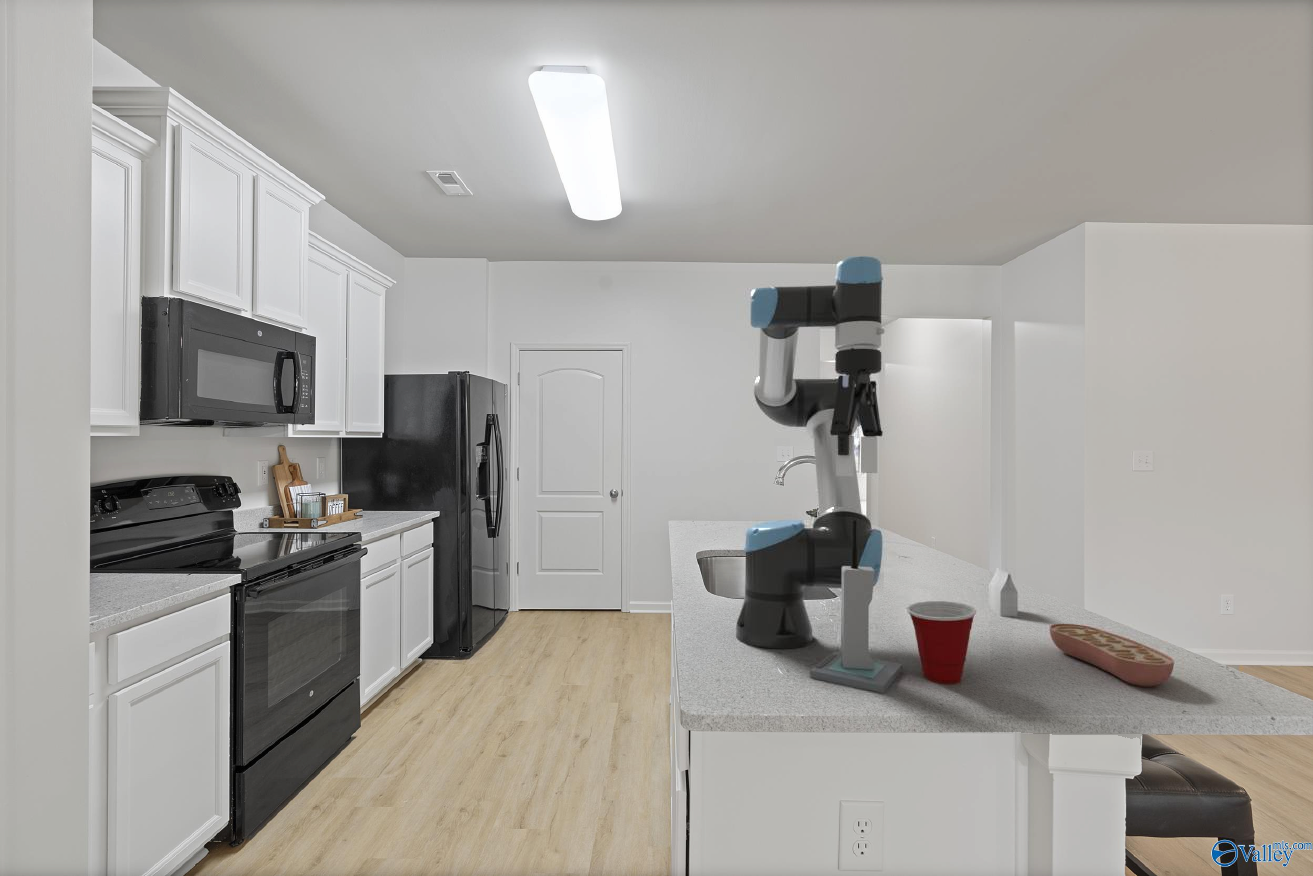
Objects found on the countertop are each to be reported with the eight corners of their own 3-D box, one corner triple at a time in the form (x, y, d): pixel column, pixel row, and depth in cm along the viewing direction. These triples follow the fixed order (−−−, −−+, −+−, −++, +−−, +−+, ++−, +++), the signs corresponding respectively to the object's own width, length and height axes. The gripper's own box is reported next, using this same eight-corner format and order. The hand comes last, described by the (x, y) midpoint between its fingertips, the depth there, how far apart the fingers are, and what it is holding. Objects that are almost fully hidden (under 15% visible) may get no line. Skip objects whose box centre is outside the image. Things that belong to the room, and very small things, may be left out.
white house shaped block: (1000, 617, 147) (1000, 573, 147) (988, 610, 154) (988, 568, 154) (1017, 618, 147) (1017, 574, 147) (1005, 610, 153) (1005, 568, 153)
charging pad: (810, 677, 109) (810, 669, 109) (833, 658, 119) (833, 650, 119) (883, 693, 102) (883, 685, 102) (902, 671, 112) (902, 663, 112)
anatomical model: (1038, 649, 125) (1038, 623, 125) (1087, 648, 126) (1087, 623, 126) (1135, 696, 102) (1135, 664, 102) (1193, 695, 103) (1193, 663, 103)
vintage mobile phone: (874, 671, 109) (875, 521, 109) (843, 669, 109) (844, 520, 109) (870, 663, 112) (871, 518, 112) (841, 661, 113) (841, 518, 113)
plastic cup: (897, 666, 115) (897, 598, 115) (959, 667, 114) (959, 599, 114) (919, 690, 104) (919, 614, 104) (988, 691, 103) (988, 615, 103)
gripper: (858, 338, 98) (857, 478, 98) (899, 356, 119) (898, 472, 119) (810, 342, 103) (810, 476, 103) (858, 359, 123) (857, 471, 123)
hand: (857, 474), depth 111 cm, fingers open, 13 cm apart
